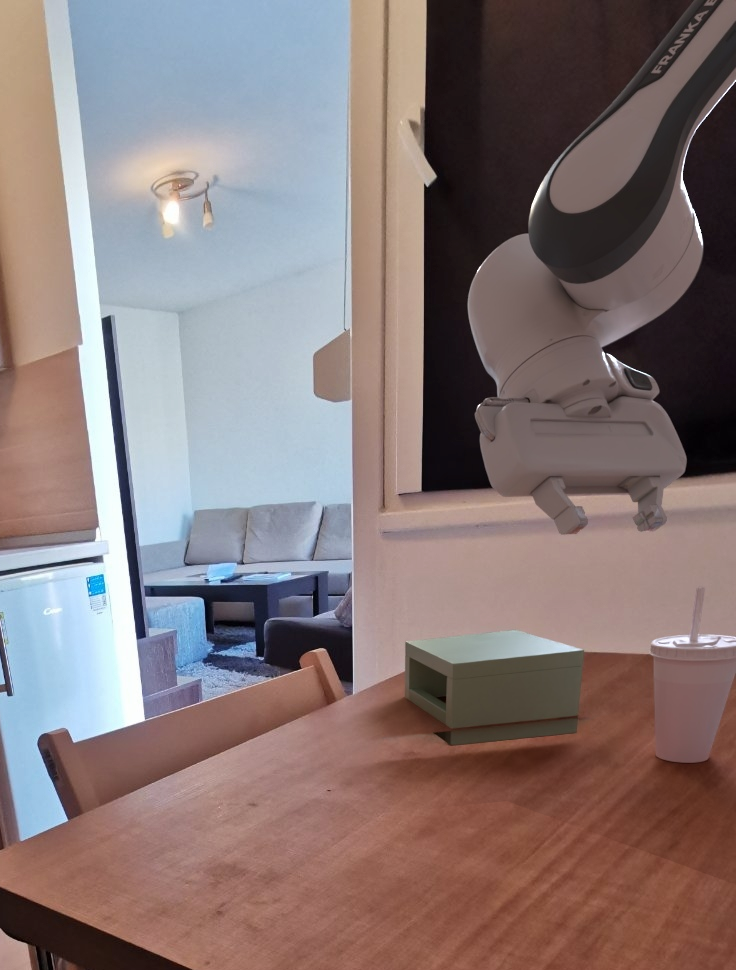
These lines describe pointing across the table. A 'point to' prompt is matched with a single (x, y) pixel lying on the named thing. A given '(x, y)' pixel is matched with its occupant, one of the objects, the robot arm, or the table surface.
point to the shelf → (495, 684)
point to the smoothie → (691, 689)
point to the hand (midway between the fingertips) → (615, 529)
